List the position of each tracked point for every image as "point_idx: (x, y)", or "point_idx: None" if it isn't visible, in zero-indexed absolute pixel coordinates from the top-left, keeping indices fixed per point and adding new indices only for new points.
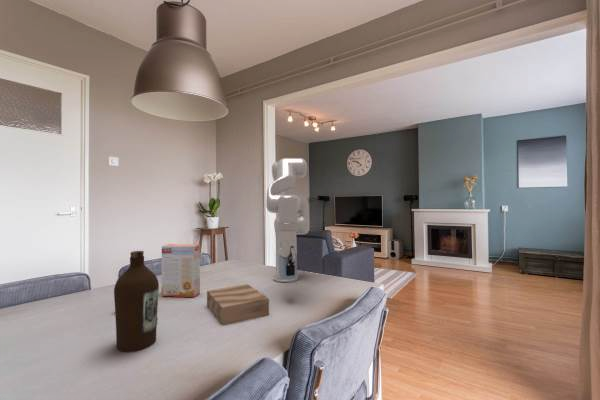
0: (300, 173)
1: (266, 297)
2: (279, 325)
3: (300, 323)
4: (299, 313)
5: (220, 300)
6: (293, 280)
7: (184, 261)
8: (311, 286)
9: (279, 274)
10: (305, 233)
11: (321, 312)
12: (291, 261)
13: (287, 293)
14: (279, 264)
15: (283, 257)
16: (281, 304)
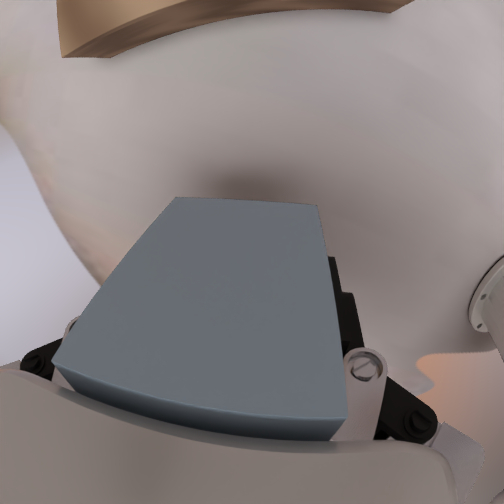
0: None
1: (75, 44)
2: (31, 95)
3: (34, 162)
4: (95, 182)
5: None
6: (470, 307)
7: None
8: (381, 337)
9: (305, 211)
10: (493, 500)
11: (97, 254)
12: (27, 360)
13: (366, 226)
14: (311, 282)
15: (131, 403)
16: (215, 136)
